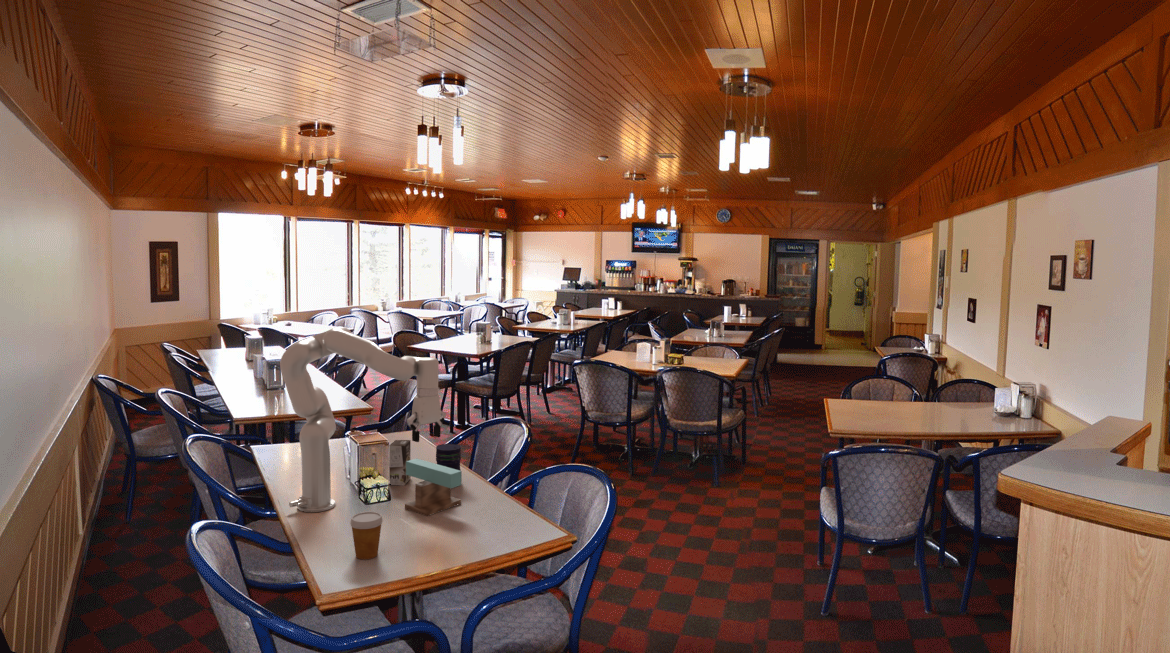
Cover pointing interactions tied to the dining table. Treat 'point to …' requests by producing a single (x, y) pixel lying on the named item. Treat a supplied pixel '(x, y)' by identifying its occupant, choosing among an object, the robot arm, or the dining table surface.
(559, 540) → the dining table surface
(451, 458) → the storage jar
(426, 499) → the walnut ridge stand
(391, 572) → the dining table surface
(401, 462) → the coffee box
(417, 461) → the teal bar
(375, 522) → the disposable coffee cup
